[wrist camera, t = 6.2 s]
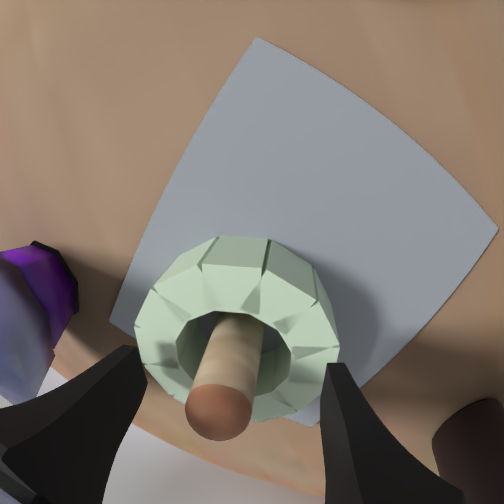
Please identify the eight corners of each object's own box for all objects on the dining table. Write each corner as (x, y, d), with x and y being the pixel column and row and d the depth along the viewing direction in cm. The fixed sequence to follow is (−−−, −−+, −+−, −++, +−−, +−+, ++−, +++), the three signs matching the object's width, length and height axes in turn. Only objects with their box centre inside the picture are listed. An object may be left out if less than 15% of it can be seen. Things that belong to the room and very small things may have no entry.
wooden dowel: (273, 310, 14) (259, 430, 8) (254, 343, 15) (232, 458, 8) (229, 291, 14) (187, 404, 8) (213, 325, 15) (170, 436, 8)
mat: (494, 226, 11) (498, 228, 11) (310, 422, 17) (310, 427, 17) (257, 39, 10) (256, 36, 10) (111, 317, 16) (108, 321, 16)
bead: (364, 299, 13) (379, 338, 10) (267, 398, 16) (262, 439, 13) (208, 200, 12) (185, 219, 10) (140, 329, 15) (116, 364, 13)
